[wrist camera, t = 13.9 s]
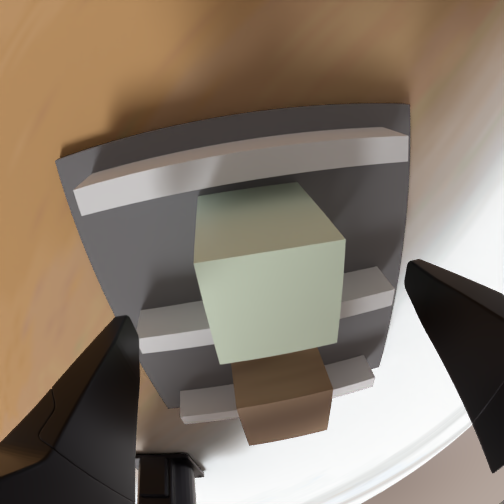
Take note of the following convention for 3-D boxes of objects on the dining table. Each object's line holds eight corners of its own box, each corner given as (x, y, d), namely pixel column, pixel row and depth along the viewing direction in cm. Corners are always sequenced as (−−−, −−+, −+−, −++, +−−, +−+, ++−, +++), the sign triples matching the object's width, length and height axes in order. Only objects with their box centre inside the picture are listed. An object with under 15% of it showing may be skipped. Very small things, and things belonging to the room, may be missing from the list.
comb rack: (377, 362, 20) (389, 387, 18) (168, 403, 19) (167, 432, 17) (404, 103, 11) (437, 110, 9) (58, 158, 11) (32, 175, 9)
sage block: (300, 265, 14) (337, 342, 10) (214, 279, 14) (219, 364, 10) (297, 181, 12) (345, 239, 8) (198, 195, 12) (193, 263, 8)
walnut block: (304, 360, 18) (327, 429, 14) (238, 372, 18) (249, 445, 13) (303, 312, 16) (333, 388, 12) (227, 326, 16) (236, 408, 11)
